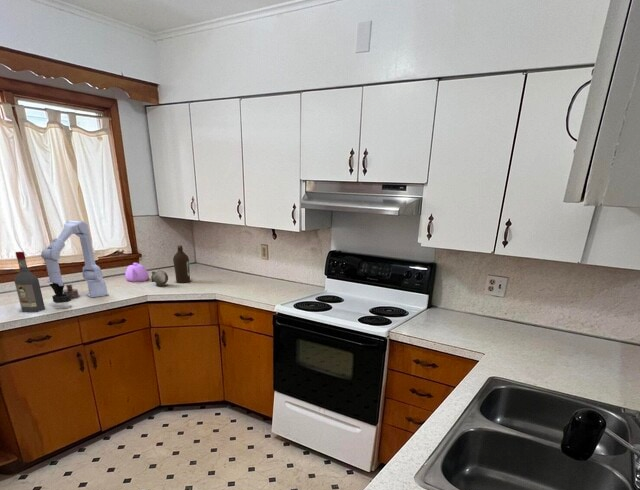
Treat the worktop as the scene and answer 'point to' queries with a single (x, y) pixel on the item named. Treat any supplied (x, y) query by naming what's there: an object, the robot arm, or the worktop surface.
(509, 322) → the worktop surface
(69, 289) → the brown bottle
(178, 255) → the olive oil
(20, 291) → the liquor
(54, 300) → the rubber collar
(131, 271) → the teapot
